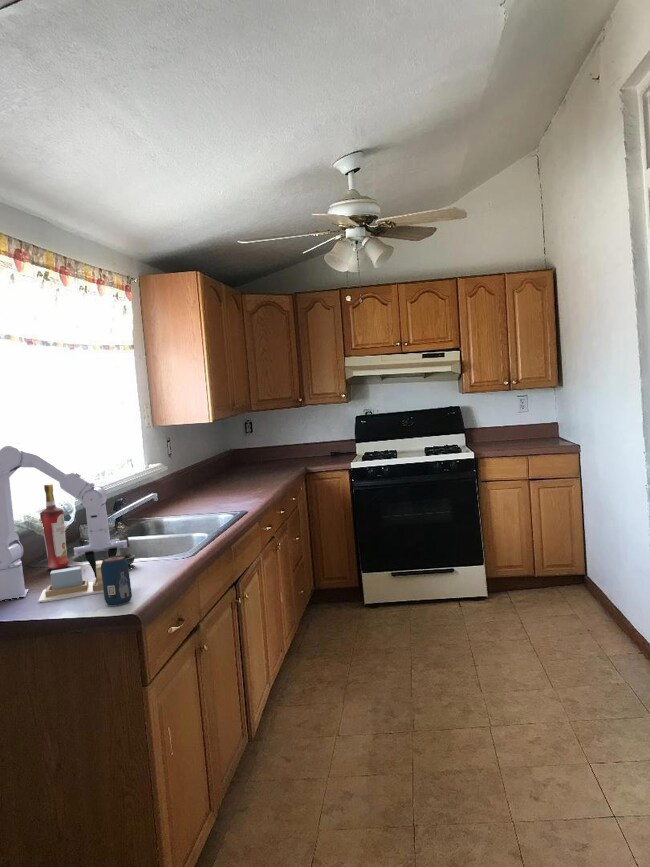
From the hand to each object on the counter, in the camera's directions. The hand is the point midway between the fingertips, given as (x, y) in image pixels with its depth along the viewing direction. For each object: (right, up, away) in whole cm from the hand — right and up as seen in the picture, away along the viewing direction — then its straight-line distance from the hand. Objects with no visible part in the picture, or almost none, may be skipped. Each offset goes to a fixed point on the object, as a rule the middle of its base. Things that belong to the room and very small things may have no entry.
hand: (104, 575), depth 205 cm
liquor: (-25, -4, +31) cm, 40 cm away
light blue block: (-9, -4, -3) cm, 10 cm away
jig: (-6, -4, -2) cm, 8 cm away
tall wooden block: (0, -2, 0) cm, 2 cm away
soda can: (+9, -4, -18) cm, 21 cm away
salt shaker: (+1, -2, +21) cm, 21 cm away
